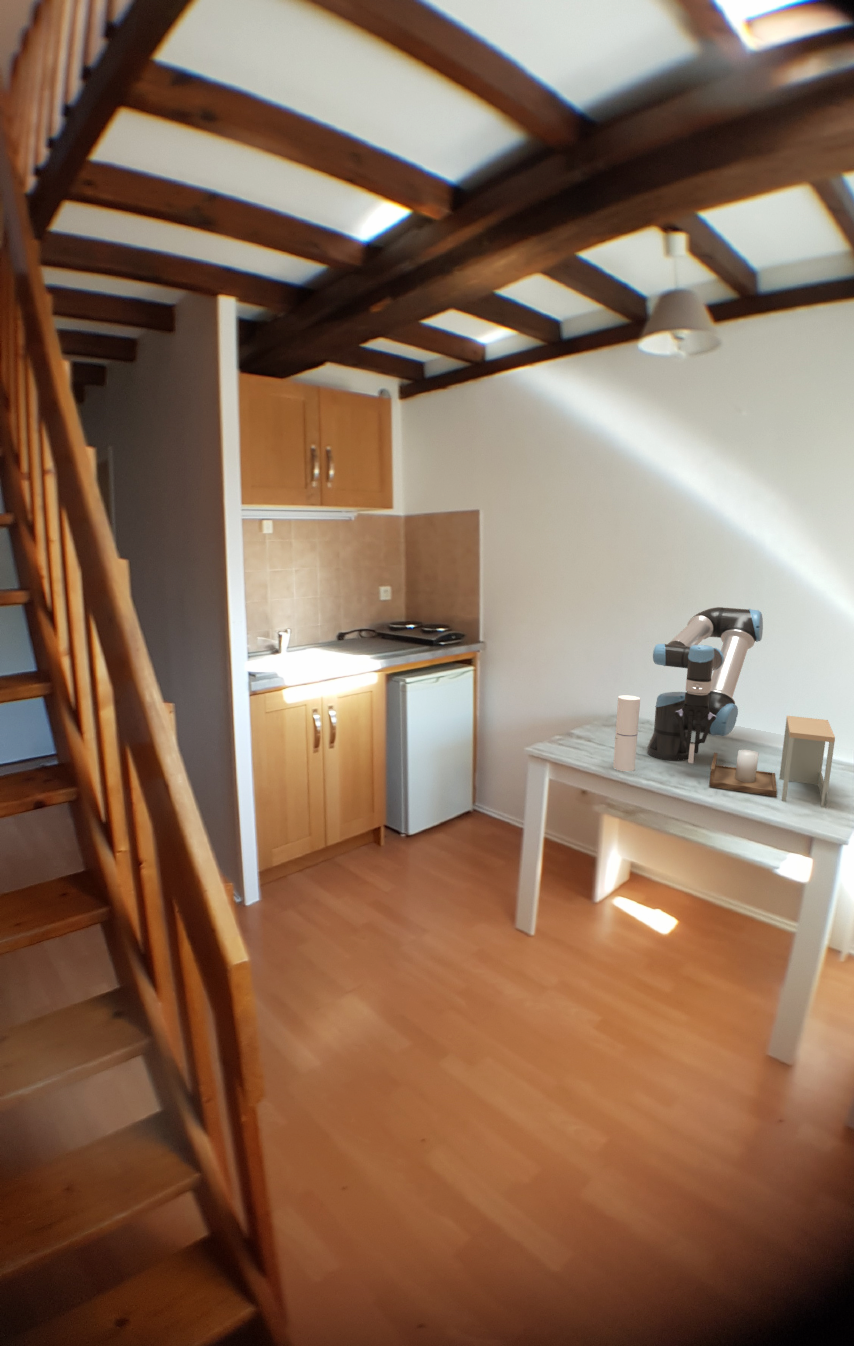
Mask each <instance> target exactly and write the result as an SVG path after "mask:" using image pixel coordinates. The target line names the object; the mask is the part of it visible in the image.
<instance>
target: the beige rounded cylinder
mask: <svg viewBox="0 0 854 1346" xmlns="http://www.w3.org/2000/svg"><path fill="white" fill-rule="evenodd" d="M759 756H760V753H759V752H757V751H754V750H752V749H751V750H749V749H739V750H738V752H737V758H736V765H735V768H736V772H735V779H737V780H739V781H742V782H749V783H751V782H755V779H756V771H758V763H759V758H760V757H759Z"/></svg>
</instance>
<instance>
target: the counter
mask: <svg viewBox="0 0 854 1346" xmlns="http://www.w3.org/2000/svg"><path fill="white" fill-rule="evenodd" d="M826 742H827V743H828V749H827V755H826V763H825V771H824V777H823V774H822V771H823V763H824V754H825V748H826ZM835 742H836V736H835V734H834V732H833V729H832V726H831V724H830V722H829V720H828V719H822V718H821V719H820V718H812V717H804V716H803V717H802V716H793V715H786V719H785V729H784V736H783V744H782V745H783V746H782V753H781V761H780V769H779V778H778V779H779V780H781V781H783V782H782V783H783V784H782V792H781V801H782V802H786V801H787V799H788V789H789V788H788V787H789V782H793V783H794V782H796V783H804V784H808V785H809V784H810V785H815V786H818V791H819V794H820V798H821V801H820V807H821V808H825V809H826V808H827V801H828V793H829V785H830V777H831V771H832V762H833V758H834V757H833V755H834V748H835Z"/></svg>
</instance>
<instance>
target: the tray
mask: <svg viewBox="0 0 854 1346" xmlns="http://www.w3.org/2000/svg"><path fill="white" fill-rule="evenodd" d="M717 760H718V752H713V757H712V761H711V766H710V777H709V784H708V785H709V786H708V787H710V788H717V789H718V788H719V789H724V790H729V791H737V792H742V793H748V794H749V793H750V794H756V795H762V796H769V797H777V792H778V790H777V789H778V788H777V777H776V773H775V772H769V771H764V770H763V771H762V770H757V771H756V779H755V782H751V783H749V782H742V781H739V780H737V779H735V772H736V766H735V767H734V766H727V765H719V764H717Z"/></svg>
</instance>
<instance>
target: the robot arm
mask: <svg viewBox="0 0 854 1346" xmlns="http://www.w3.org/2000/svg"><path fill="white" fill-rule="evenodd" d="M763 619H764V618H763V614H762V612H761V611H760V610H758V609H751V608H748V609H746V608H734V607H722V606H721V607H719V606H717V607H712V608H708V609H704V610H703V611H700V612H698V613H696V614H694V616H692V617H691V618H690V619H689V620H688V622H687V624H686V627H685V628H683V629H682V630H681V631H680V632H679V633H678V634H677V635H676V636H675V637H674V638H672V640H671V641H670V642H669V643H667V644H666V643H657V644H656V645H655V646H654V648H653V652H652V660H653V663H654V664H655V665H658V666H663V667H669V668H670V667H671V668H681V669H686V670H687V671H686V672H687V673H686V680H685V691H669V692H663V693H660V694H659V695H657V697H656V704H655V713H654V725H653V727H654V728H653V734H652V736H651V738H650V741H649V742H648V745H647V748H646V749H647V750H646V753H647V754H648V755H649V756H650V757H653V758H656V759H659V760H665V761H672V762H673V761H674V762H675V761H676V762H677V761H688V764H694V761H695V760H694V759H695V754H699V746H700V744H705V742H706V740H707V737H708V735H712V736H721V737H725V736H728V735H729V734H730V733H731V732H732V731H733V729H734V727H735V725H736V722H737V718H738V714H739V707H738V705H736V702H735V699H734V698H733V697H734V693H735V690H736V687H737V684H738V680H739V677H740V674H741V671H742V668H743V665H744V662H745V659H746V655H747V653H748V650H750V649H751V648H752V647H754V645H755V642H761V640H762V639H763V630H764V627H763V626H764V621H763ZM708 638H717V639H718V638H720V640H721V642H722V643H723V644H722V646H721V649H719V648H717V647H714V646H711V645H703V644H700V643H701V642H702V641H703V640H706V639H708ZM693 732H695V738H694V741H692V733H693ZM701 734H703V735H702V736H701ZM700 737H701V738H700Z"/></svg>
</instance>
